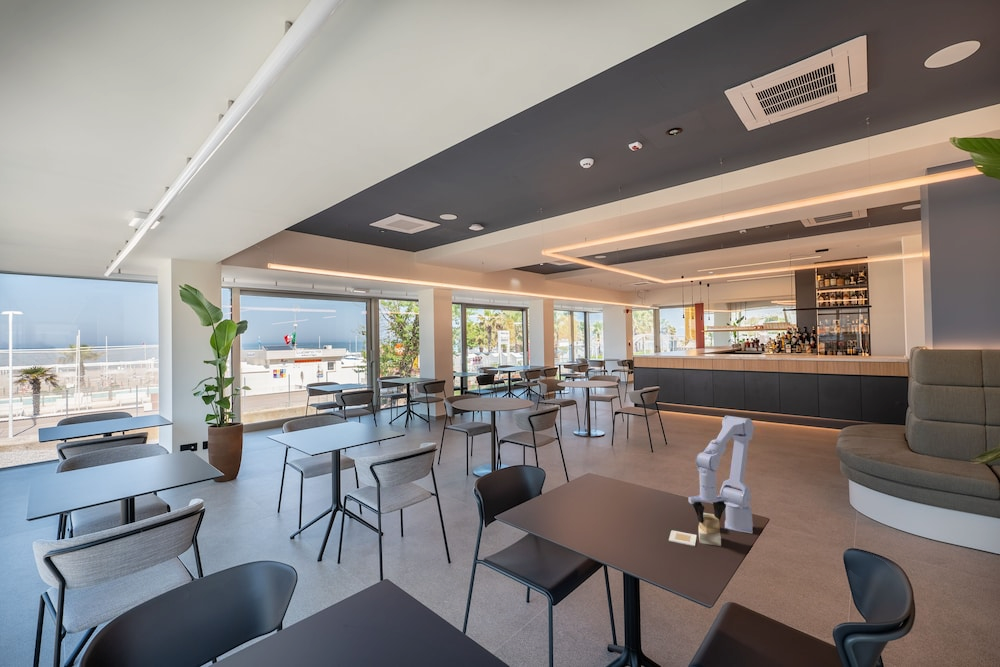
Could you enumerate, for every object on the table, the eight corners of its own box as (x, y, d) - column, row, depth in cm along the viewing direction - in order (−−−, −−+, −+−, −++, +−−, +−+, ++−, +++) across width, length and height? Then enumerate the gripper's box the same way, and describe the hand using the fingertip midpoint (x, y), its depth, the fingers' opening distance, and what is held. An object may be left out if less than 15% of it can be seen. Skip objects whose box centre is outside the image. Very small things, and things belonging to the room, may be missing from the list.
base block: (719, 538, 156) (718, 528, 156) (721, 547, 150) (720, 536, 150) (698, 535, 159) (698, 525, 159) (699, 543, 153) (699, 533, 153)
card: (696, 536, 158) (696, 534, 158) (695, 546, 150) (695, 545, 150) (671, 531, 162) (671, 529, 162) (668, 541, 154) (668, 539, 154)
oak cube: (712, 527, 157) (711, 514, 157) (719, 533, 152) (719, 519, 152) (699, 527, 157) (699, 514, 157) (706, 533, 152) (706, 520, 152)
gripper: (720, 481, 159) (721, 516, 159) (683, 482, 159) (684, 518, 158) (731, 487, 152) (732, 524, 152) (693, 489, 151) (694, 526, 151)
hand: (709, 521), depth 155 cm, fingers open, 6 cm apart
